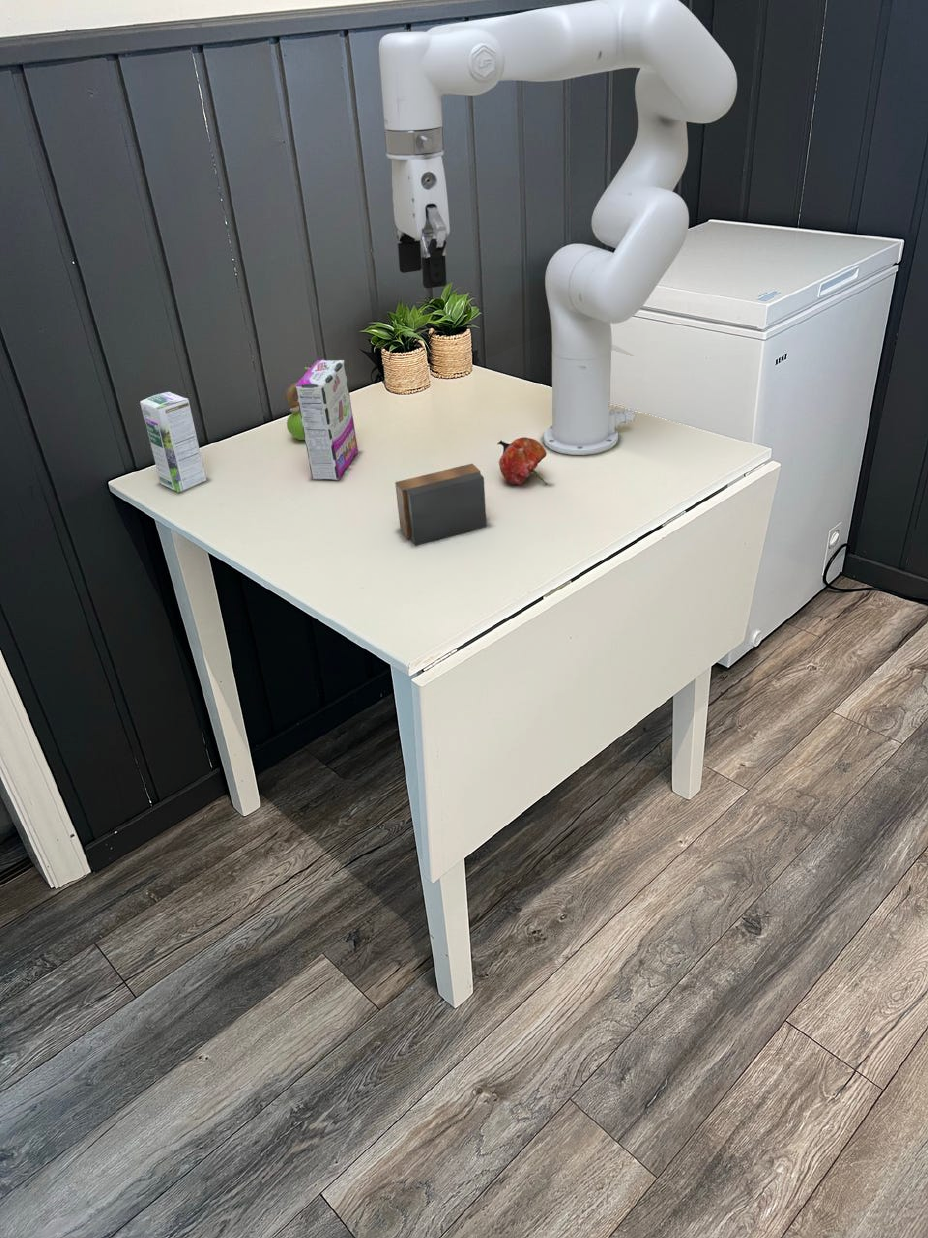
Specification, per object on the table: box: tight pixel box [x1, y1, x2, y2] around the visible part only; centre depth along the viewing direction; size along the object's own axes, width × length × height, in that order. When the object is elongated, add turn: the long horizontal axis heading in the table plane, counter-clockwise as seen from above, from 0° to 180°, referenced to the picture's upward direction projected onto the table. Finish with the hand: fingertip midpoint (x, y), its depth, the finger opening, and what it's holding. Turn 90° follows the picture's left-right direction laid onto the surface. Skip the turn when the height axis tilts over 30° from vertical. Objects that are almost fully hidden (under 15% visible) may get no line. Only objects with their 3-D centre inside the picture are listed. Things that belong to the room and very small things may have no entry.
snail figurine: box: [285, 366, 311, 441], centre depth 165 cm, size 5×6×12 cm
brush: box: [394, 463, 487, 546], centre depth 136 cm, size 12×5×8 cm, turn 113°
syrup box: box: [139, 391, 207, 493], centre depth 152 cm, size 6×6×14 cm
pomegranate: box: [497, 436, 548, 486], centre depth 148 cm, size 7×7×10 cm
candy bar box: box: [295, 359, 359, 481], centre depth 154 cm, size 11×5×16 cm, turn 168°
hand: (422, 278), depth 133 cm, fingers open, 9 cm apart
